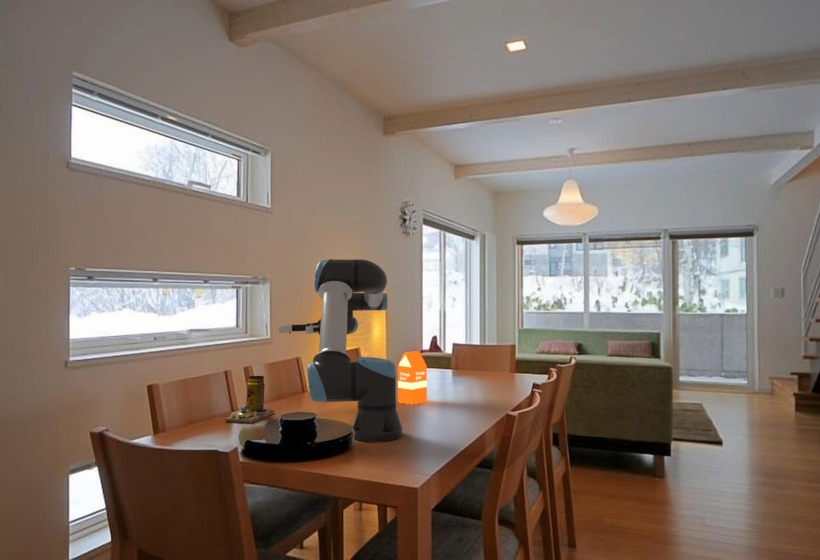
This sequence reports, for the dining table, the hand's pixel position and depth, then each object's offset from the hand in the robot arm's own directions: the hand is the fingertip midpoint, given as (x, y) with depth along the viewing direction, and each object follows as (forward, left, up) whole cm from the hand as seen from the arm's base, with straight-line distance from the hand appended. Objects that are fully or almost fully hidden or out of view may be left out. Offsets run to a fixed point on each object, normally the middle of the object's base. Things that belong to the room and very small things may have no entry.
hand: (292, 329), depth 202 cm
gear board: (-13, +10, -30) cm, 34 cm away
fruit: (-49, -11, -30) cm, 59 cm away
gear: (-17, +10, -29) cm, 35 cm away
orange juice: (+24, -40, -30) cm, 56 cm away
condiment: (-9, +10, -28) cm, 31 cm away
